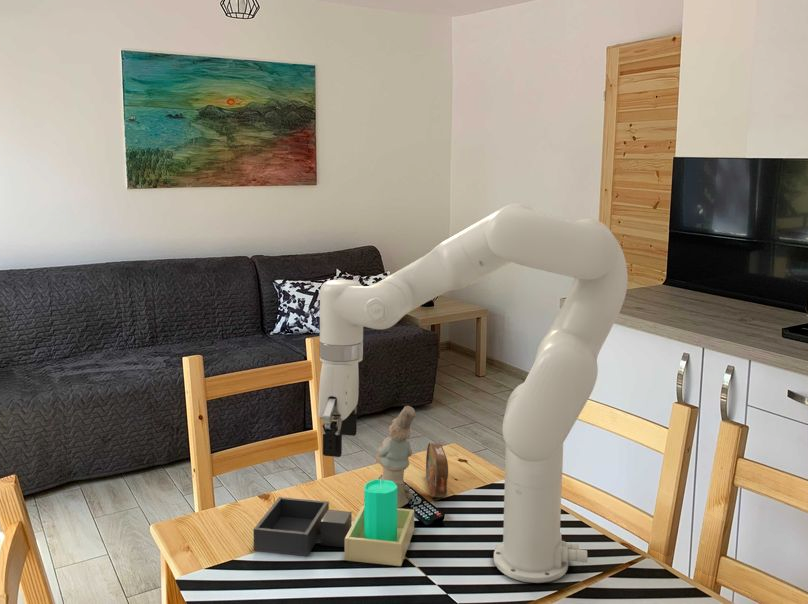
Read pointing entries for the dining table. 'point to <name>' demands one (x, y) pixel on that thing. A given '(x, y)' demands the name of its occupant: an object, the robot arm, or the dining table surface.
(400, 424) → the figurine
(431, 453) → the tin
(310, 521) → the charcoal bin
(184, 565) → the dining table surface
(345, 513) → the block
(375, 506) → the candle
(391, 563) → the cream bin
